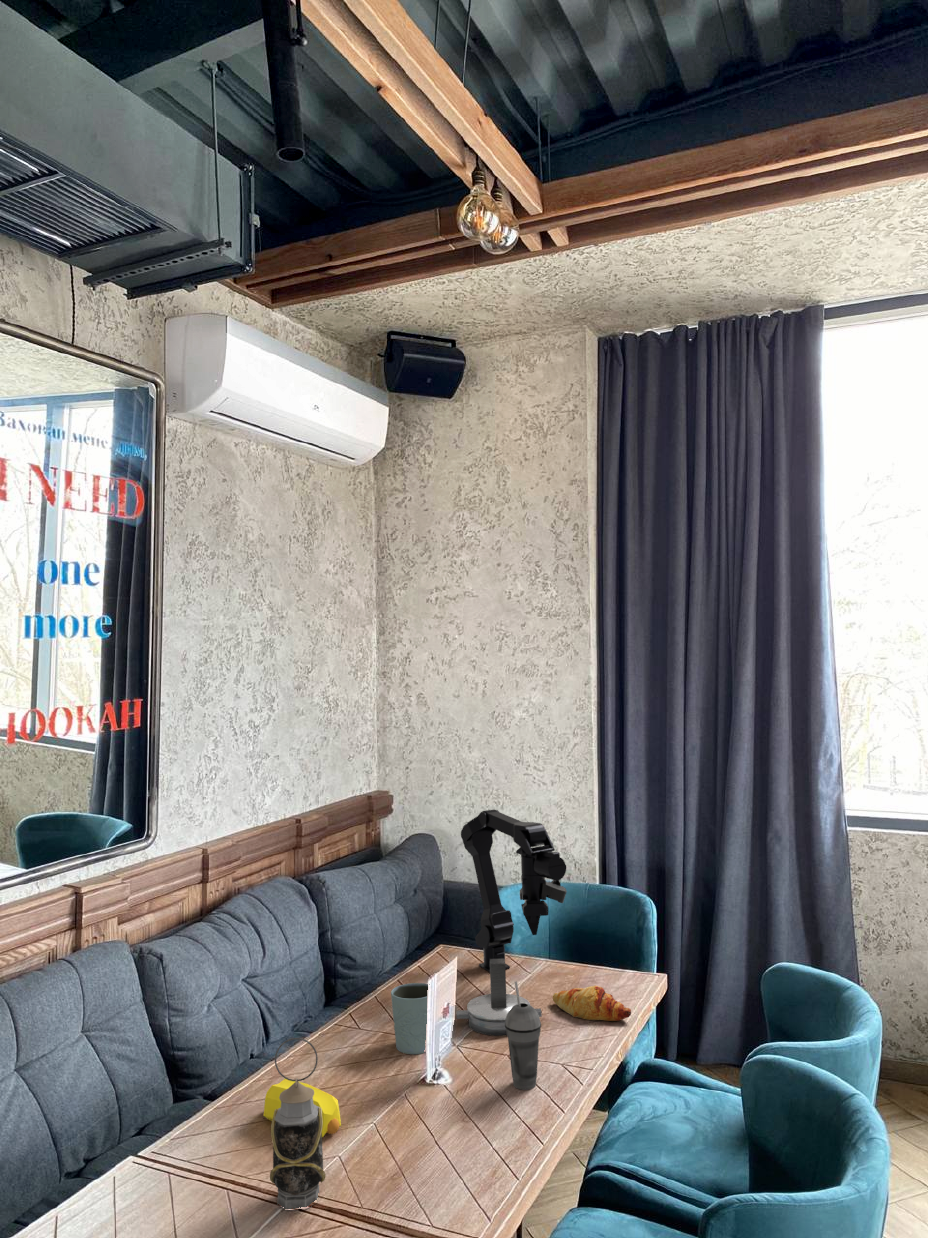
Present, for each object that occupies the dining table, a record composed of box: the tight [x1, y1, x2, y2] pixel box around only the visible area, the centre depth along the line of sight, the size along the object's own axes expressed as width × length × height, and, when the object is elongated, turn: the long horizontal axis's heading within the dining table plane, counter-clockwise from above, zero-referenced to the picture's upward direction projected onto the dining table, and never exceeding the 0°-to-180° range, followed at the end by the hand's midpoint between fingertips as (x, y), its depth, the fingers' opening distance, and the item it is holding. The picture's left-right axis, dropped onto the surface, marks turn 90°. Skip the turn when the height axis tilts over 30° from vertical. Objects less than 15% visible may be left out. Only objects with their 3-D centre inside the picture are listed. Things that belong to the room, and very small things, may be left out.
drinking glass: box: [390, 982, 429, 1055], centre depth 202 cm, size 10×10×12 cm
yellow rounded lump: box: [262, 1078, 342, 1138], centre depth 170 cm, size 18×7×8 cm
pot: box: [455, 1008, 543, 1037], centre depth 213 cm, size 14×20×3 cm
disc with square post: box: [466, 958, 531, 1021], centre depth 214 cm, size 15×15×11 cm
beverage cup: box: [505, 980, 542, 1091], centre depth 183 cm, size 7×7×20 cm
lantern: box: [269, 1037, 326, 1210], centre depth 146 cm, size 9×8×25 cm
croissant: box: [552, 985, 632, 1022], centre depth 218 cm, size 21×10×8 cm, turn 53°
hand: (534, 934), depth 237 cm, fingers closed
